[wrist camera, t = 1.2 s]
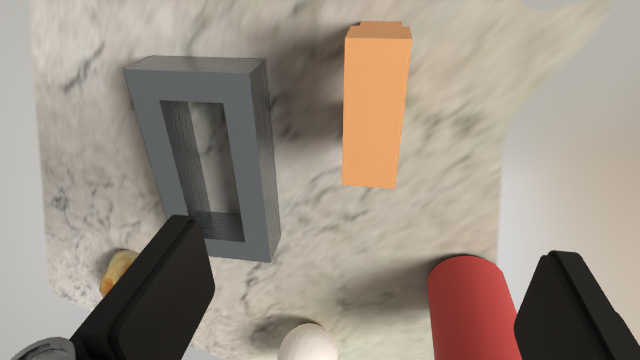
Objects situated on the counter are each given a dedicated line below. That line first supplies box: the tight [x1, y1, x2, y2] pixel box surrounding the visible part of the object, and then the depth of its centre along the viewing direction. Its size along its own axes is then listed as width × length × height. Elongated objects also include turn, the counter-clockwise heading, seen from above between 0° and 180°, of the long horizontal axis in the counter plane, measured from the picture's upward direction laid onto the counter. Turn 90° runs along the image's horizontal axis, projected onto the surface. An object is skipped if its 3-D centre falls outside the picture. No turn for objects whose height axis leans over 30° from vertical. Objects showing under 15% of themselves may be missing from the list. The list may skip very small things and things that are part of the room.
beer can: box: [427, 256, 522, 360], centre depth 28 cm, size 7×7×12 cm
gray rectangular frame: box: [123, 56, 281, 263], centre depth 29 cm, size 16×8×4 cm, turn 1°
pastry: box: [99, 249, 139, 298], centre depth 39 cm, size 9×7×4 cm
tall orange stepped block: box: [342, 21, 412, 189], centre depth 22 cm, size 8×3×8 cm, turn 1°
